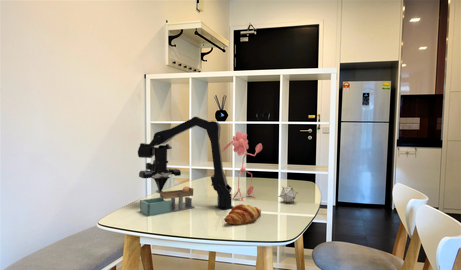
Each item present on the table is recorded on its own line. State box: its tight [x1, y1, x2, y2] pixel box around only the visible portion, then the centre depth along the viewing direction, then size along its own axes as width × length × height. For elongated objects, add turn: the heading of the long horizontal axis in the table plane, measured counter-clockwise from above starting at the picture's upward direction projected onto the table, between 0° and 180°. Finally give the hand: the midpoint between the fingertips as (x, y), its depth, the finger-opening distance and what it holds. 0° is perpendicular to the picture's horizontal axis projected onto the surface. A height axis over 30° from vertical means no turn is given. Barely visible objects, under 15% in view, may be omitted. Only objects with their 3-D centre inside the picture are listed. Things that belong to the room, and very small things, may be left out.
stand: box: [170, 194, 196, 213], centre depth 136 cm, size 9×11×7 cm
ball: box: [182, 185, 189, 192], centre depth 138 cm, size 3×3×3 cm
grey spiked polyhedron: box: [278, 185, 299, 204], centre depth 147 cm, size 9×8×10 cm
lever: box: [155, 186, 194, 200], centre depth 139 cm, size 16×14×3 cm
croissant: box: [223, 204, 262, 225], centre depth 119 cm, size 21×10×8 cm, turn 138°
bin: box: [139, 196, 172, 217], centre depth 129 cm, size 9×11×5 cm
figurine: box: [221, 131, 263, 202], centre depth 158 cm, size 15×26×35 cm, turn 133°
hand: (160, 191), depth 140 cm, fingers closed, pressing on lever
